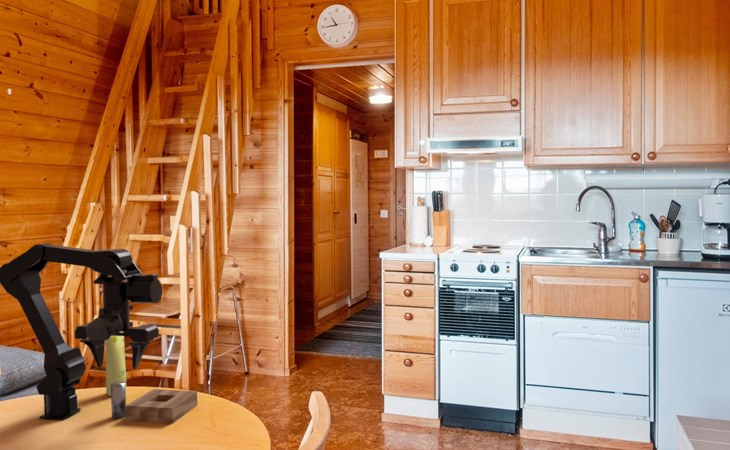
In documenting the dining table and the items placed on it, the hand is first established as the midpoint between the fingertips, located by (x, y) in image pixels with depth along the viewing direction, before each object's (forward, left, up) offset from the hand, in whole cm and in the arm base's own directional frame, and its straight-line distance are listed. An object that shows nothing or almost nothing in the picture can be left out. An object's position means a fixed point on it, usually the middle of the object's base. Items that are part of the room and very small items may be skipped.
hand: (117, 367), depth 136 cm
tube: (-11, +15, -12) cm, 22 cm away
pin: (0, 0, -12) cm, 12 cm away
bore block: (+9, +4, -12) cm, 15 cm away
